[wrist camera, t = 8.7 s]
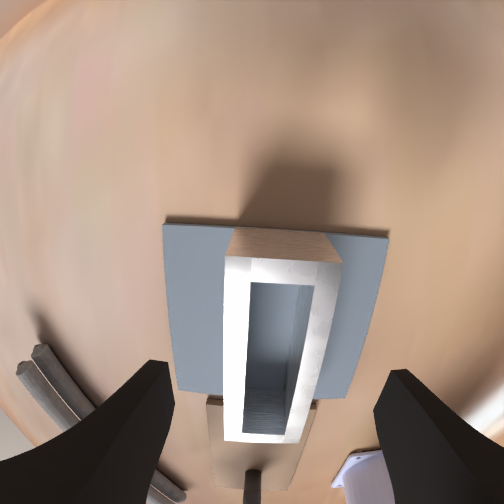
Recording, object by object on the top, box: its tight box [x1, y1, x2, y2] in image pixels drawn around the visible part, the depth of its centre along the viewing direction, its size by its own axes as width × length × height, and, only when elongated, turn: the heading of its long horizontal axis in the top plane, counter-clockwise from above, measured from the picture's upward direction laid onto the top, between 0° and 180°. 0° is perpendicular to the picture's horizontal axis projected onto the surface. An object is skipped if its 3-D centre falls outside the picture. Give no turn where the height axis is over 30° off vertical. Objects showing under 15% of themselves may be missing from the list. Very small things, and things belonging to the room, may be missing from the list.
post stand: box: [206, 399, 316, 504], centre depth 20 cm, size 8×16×6 cm, turn 177°
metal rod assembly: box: [16, 344, 186, 504], centre depth 21 cm, size 26×3×5 cm, turn 19°
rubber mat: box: [162, 223, 389, 399], centre depth 17 cm, size 12×12×1 cm
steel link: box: [224, 227, 343, 443], centre depth 15 cm, size 4×12×4 cm, turn 177°
